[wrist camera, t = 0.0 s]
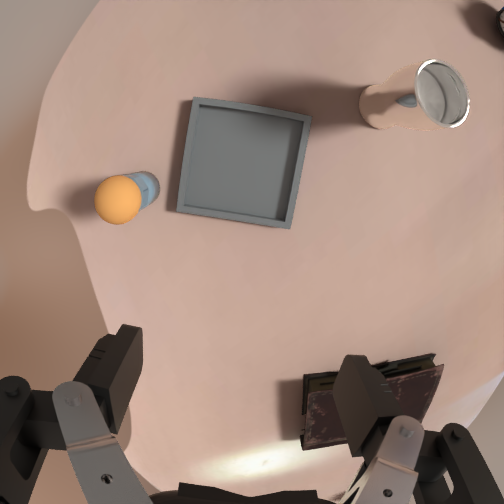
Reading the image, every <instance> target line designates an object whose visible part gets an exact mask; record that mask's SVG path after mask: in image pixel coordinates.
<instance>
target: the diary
mask: <svg viewBox="0 0 504 504" xmlns="http://www.w3.org/2000/svg"><path fill="white" fill-rule="evenodd" d="M435 355H436V354H426V355H421V356H416V357H411V358H407V359H402V360H397V361H392V362H387V363H383V364H378V365H371V367H375V368H376V369H377V370H378V371H379V372H380V373H382V374H383V375H384V377H385V379H386V381H387V383H388V386H389V387H390V388H391V390H392V393H393V394H394V396H395V398H396V400H397V402H398V404H399V405H400V407H401V409H402V411H403V413H404V415H405V416H410V417H412V418H414V419H416V420H417V421H419V422H420V423H422V420H423V418H424V416H425V414H426V412H427V410H428V408H429V406H430V404H431V402H432V399H433V397H434V395H435V392H436V390H437V387H438V384H439V381H440V378H441V375H442V372H443V368H444V364H442V365H438V366H435V364H434V363H433V362H432V361H433V359H434V357H435ZM338 373H339V372H323V373H313V374H304V381H303V403H302V415H304V414H306V424H305V429H304V430H305V433H304V435H300V441H301V447H302V450H303V451H304V450H311V449H318V448H323V447H329V446H334V445H340V444H347V443H348V442H347V438H346V435H345V432H344V429H343V426H342V422H341V419H340V416H339V413H338V410H337V407H336V404H335V401H334V397H333V386H334V382H335V380H336V377H337V375H338Z"/></svg>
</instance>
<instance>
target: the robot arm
mask: <svg viewBox="0 0 504 504" xmlns="http://www.w3.org/2000/svg"><path fill="white" fill-rule="evenodd" d="M142 365H143V333H142V328H140V327H135V326H130V325H126V324H122V326H121V327H120V329H119V330H118V332H117V334H116V335H112V334H107V335H106V336H104V337H103V338H101V339H99V340H98V342H97V343H96V345H95V346H94V348H93V350H92V351H91V352H90V354H89V357H87V359H86V360H85V362H84V363H83V365H82V366H81V368H80V370H79V371H78V373H77V374H76V376H75V378H74V379H73V381H69V382H65V383H62V384H60V385H58V386H57V387H56V388H55V390H54V391H40V390H31V388H30V385H29V383H28V382H27V381H26V380H25V379H23V378H22V377H19V376H8V377H5V378H3V379H1V380H0V504H28V502H29V500H30V497H31V494H32V491H33V488H34V486H35V483H36V480H37V478H38V475H39V472H40V470H41V467H42V465H43V462H44V459H45V457H46V455H47V452H48V450H49V449H55V450H67V452H68V455H69V458H70V461H71V463H72V466H73V469H74V471H75V473H76V476H77V479H78V481H79V483H80V486H81V488H82V491H83V493H84V495H85V497H86V500H87V502H88V504H336V503H333V502H331V501H328V500H324V499H319V498H318V496H317V491H316V490H302V491H281V492H276V493H271V494H266V495H261V496H255V497H247V496H243V495H239V494H236V493H232V492H229V491H225V490H222V489H219V488H216V487H210V486H201V485H194V484H188V483H181V482H179V488H178V490H172V491H164V492H160V493H156V494H153V495H150V496H148V494H147V493H146V491H145V489H144V488H143V486H142V485H141V483H140V481H139V480H138V478H137V476H136V475H135V473H134V471H133V469H132V467H131V466H130V464H129V462H128V460H127V458H126V456H125V455H124V453H123V451H122V449H121V447H120V445H119V443H118V441H117V439H116V438H115V437H112V435H111V433H113V434H118V431H119V429H120V426H121V423H122V420H123V418H124V415H125V412H126V410H127V407H128V405H129V402H130V399H131V397H132V394H133V392H134V389H135V387H136V384H137V382H138V379H139V377H140V374H141V371H142ZM333 397H334V401H335V404H336V407H337V410H338V413H339V416H340V419H341V422H342V426H343V429H344V432H345V435H346V438H347V442H348V445H349V448H350V451H351V455H352V457H361V456H363V457H364V462H363V463H362V465H361V466H360V468H359V470H358V472H357V474H356V475H355V477H354V479H353V481H352V482H351V484H350V486H349V488H348V489H347V491H346V493H345V494H344V496H343V497H342V499H341V500H340V502H339V503H338V504H409V501H410V498H411V495H412V493H413V495H414V498H415V501H416V504H504V499H503V497H502V494H501V492H500V490H499V488H498V486H497V484H496V482H495V480H494V478H493V476H492V474H491V472H490V470H489V468H488V466H487V464H486V462H485V460H484V458H483V456H482V455H481V453H480V451H479V449H478V447H477V446H476V444H475V442H474V440H473V438H472V436H471V435H470V433H469V431H468V430H467V429H466V428H465V427H463V426H462V425H460V424H457V423H449V424H447V425H445V426H444V428H443V429H442V430H441V432H435V431H428V430H424V428H423V426H422V425H421V423H420V422H419V421H417V420H416V419H414V418H412V417H410V416H405V415H404V413H403V411H402V409H401V407H400V405H399V404H398V402H397V400H396V398H395V396H394V394H393V393H392V390H391V388H390V387H389V386H388V383H387V381H386V379H385V377H384V375H383V374H382V373H380V372H379V371H378V370H377V369H376V368H375V367H371V365H370V363H369V361H368V359H367V357H366V356H365V355H346V356H345V358H344V360H343V363H342V365H341V368H340V370H339V373H338V375H337V377H336V380H335V382H334V386H333ZM447 470H448V472H449V475H450V477H451V480H452V482H453V485H454V490H453V493H452V495H451V493H450V490H449V488H448V486H447V483H446V481H445V478H444V476H443V474H444V473H445V472H446V471H447Z"/></svg>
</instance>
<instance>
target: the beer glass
mask: <svg viewBox="0 0 504 504" xmlns="http://www.w3.org/2000/svg"><path fill="white" fill-rule="evenodd" d="M469 105H470V99H469V93H468V89H467V86H466V84H465V81H464V79H463V78H462V76H461V75H460V73H459V72H458V71H457V70H456V69H455V68H454V67H453V66H452V65H450V64H449V63H447V62H445V61H443V60H440V59H429V60H426V61H422V62H418V63H414V64H411V65H408V66H405V67H403V68H401V69H399V70H397V71H396V72H395V73H393V74H392V75H391V76H390V77H389V78H388V79H387V80H386V81H385V82H384V83H383V84H382V85H380V84H377V85H371V86H369V87H367V88H366V89H365V90H364V91H363V92H362V93H361V95H360V98H359V109H360V113H361V115H362V117H363V118H364V120H365V121H366V122H367V123H368V124H369V125H371V126H373V127H375V128H377V129H388V128H391V127H393V126H395V125H397V126H401V127H404V128H408V129H413V130H421V131H429V130H439V129H445V128H454V127H457V126H459V125H460V124H461V123H462V122H463V121H464V120H465V118H466V117H467V114H468V111H469Z"/></svg>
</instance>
